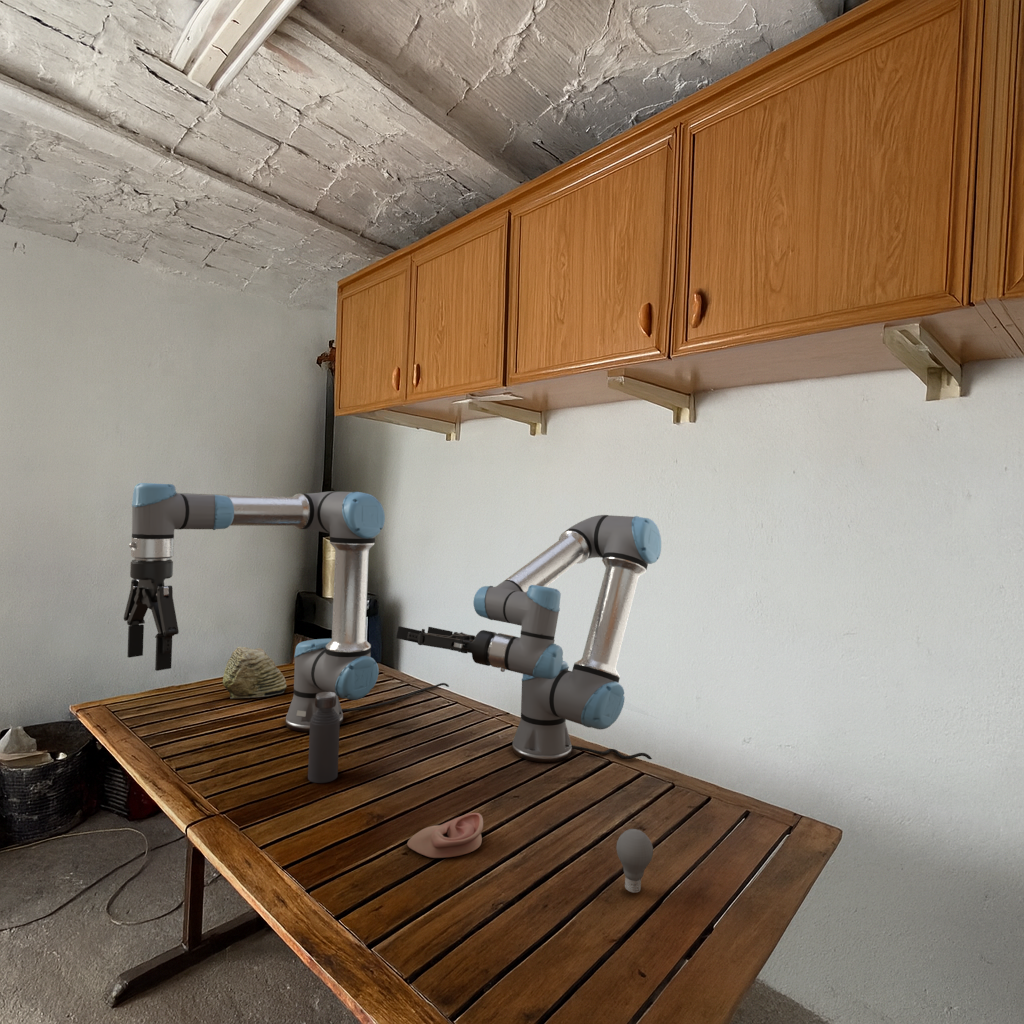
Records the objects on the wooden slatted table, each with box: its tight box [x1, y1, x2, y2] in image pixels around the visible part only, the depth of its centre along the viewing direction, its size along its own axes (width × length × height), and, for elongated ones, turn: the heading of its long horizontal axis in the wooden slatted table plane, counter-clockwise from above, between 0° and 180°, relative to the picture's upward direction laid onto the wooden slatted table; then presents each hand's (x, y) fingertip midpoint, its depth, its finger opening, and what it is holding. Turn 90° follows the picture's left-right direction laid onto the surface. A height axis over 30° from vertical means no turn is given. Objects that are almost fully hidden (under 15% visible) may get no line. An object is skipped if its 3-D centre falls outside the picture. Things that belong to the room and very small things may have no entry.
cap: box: [315, 692, 336, 709], centre depth 143 cm, size 4×4×2 cm
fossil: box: [222, 646, 288, 699], centre depth 198 cm, size 9×18×15 cm, turn 132°
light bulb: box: [615, 828, 654, 894], centre depth 106 cm, size 6×6×10 cm
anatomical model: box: [406, 812, 484, 859], centre depth 118 cm, size 13×4×12 cm
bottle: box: [307, 707, 341, 784], centre depth 143 cm, size 6×6×18 cm
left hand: (148, 662), depth 129 cm, fingers open, 13 cm apart
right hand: (413, 632), depth 150 cm, fingers open, 13 cm apart
